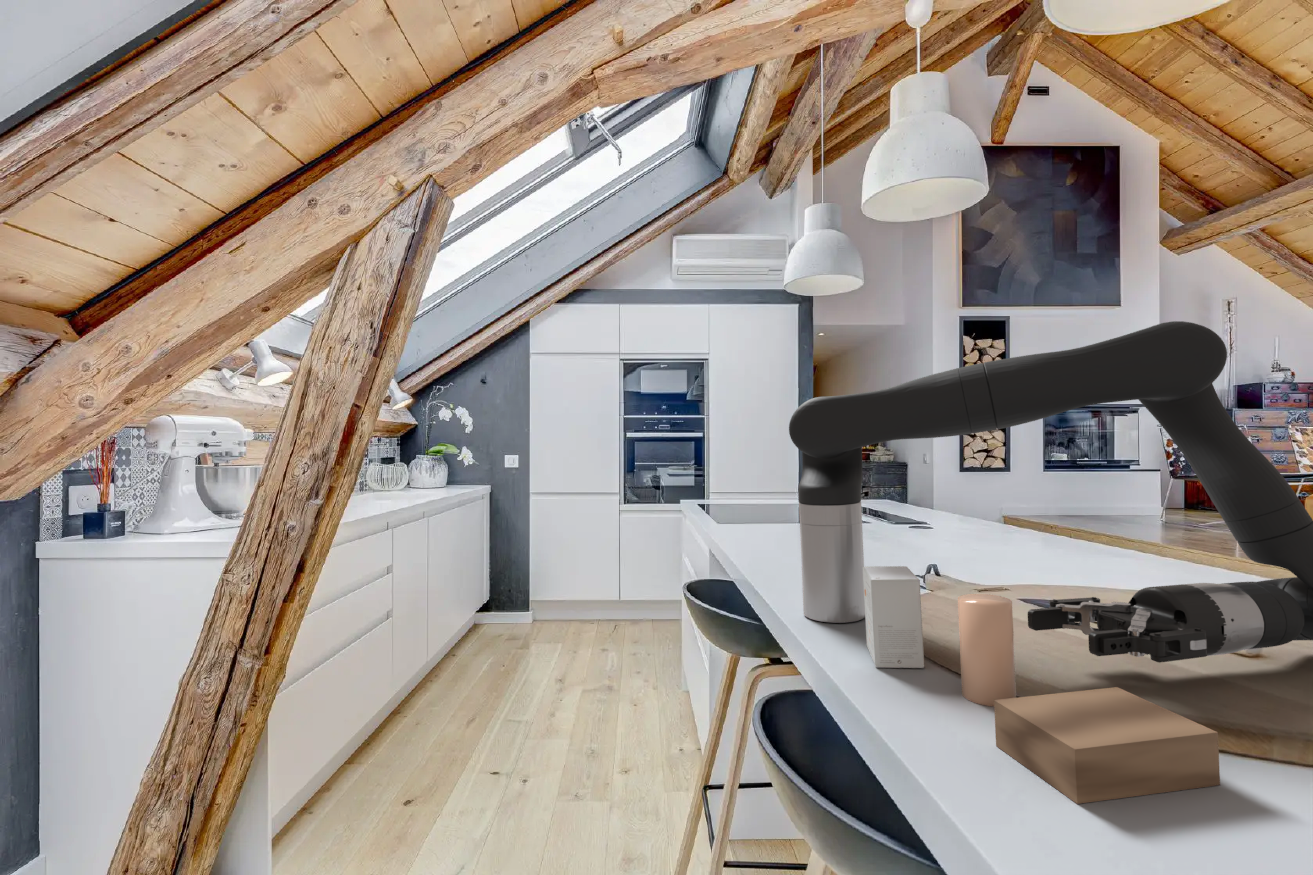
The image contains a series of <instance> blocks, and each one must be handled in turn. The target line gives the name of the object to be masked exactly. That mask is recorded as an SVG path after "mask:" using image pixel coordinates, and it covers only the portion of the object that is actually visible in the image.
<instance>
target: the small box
mask: <svg viewBox="0 0 1313 875" xmlns="http://www.w3.org/2000/svg"><path fill="white" fill-rule="evenodd" d="M920 581H921V580H920V578H918V577H917V576H916V575H915V573H913V571H912V570H911V568H909V567H908V566H904V565H903V566H901V565H900V566H899V565H898V566H897V565H896V566H895V565H893V566H887V565H886V566H885V565H884V566H881V565H880V566H878V565H877V566H876V565H875V566H874V565H873V566H864V567H863V582H864V600H865V618H864V619H865V635H866V636H865V638H866V648H867V649H868V651H869V654H870V657H871V659H872V661H873V664H874V666H875V668H876V669H877V668H878V669H879V668H884V669H885V668H890V669H891V668H893V669H894V668H895V669H896V668H897V669H925V656H924V654H925V653H924V633H923V632H924V631H923V618H922V600H921V582H920Z"/></svg>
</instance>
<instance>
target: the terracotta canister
mask: <svg viewBox="0 0 1313 875" xmlns="http://www.w3.org/2000/svg"><path fill="white" fill-rule="evenodd" d="M957 613H958V632H959V653H960V654H959V658H960V679H961V681H960V682H961V695H962V697H963V698H964V699H966V700H968V701H970V702H972V703H974V704H978V705H981V706H982V705H983V706H986V707H994V700H999V699H1009V698H1017V683H1016V682H1017V680H1016V663H1015V661H1016V660H1015V657H1016V656H1015V640H1014V638H1015V637H1014V636H1015V635H1014V632H1015V631H1014V616H1013V615H1014V614H1013V613H1014V612H1013V600H1012V599H1010V598H1008V597H1005V596H1001V595H996V594H991V593H989V594H988V593H968V594H967V593H966V594H962V595H959V596H958V597H957Z"/></svg>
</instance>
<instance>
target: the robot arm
mask: <svg viewBox="0 0 1313 875" xmlns="http://www.w3.org/2000/svg"><path fill="white" fill-rule="evenodd" d="M1227 358H1228V351H1227V347H1226V344H1225V342H1224V341H1223V339H1222V337H1221V336H1220V335H1218V333H1216V332H1215V331H1213V330H1212V329H1210V328H1209V327H1206V326H1204V325H1202V324H1198V323H1195V322H1190V321H1176V320H1175V321H1167V322H1166V321H1165V322H1161V323H1158V324H1155V325H1152V326H1149V327H1146V328H1143V329H1140V330H1136V331H1133V332H1130V333H1127V334H1125V335H1121V336H1117V337H1114V338H1110V339H1107V340H1103V341H1100V342H1095V343H1092V344H1088V345H1084V346H1081V347H1076V348H1071V349H1065V350H1064V349H1063V350H1059V351H1051V352H1043V353H1042V352H1041V353H1035V354H1027V355H1026V354H1025V355H1021V356H1020V355H1019V356H1014V357H1009V358H1007V357H1006V358H1003V359H1002V358H1001V359H996V360H991V361H985V362H980V363H976V364H975V363H974V364H972V365H966V366H961V367H958V368H957V367H956V368H952V369H949V370H945V371H941V372H938V373H932V374H931V375H926V376H922V377H919V378H917V379H912V380H909V381H906V382H904V383H900V384H897V385H894V386H890V387H887V388H883V389H879V390H874V391H873V390H872V391H866V392H857V393H851V394H841V395H832V396H831V395H830V396H818V397H817V396H816V397H814V398H813V397H812V398H810V399H808V400H806V401H804V402H803V403H801V405H799V406H798V407H797V408H796V409H795V411H794V412H793V414H792V415H791V417H790V420H789V424H788V433H789V437H790V440H791V441H792V443H793V445H795V446H794V447H796V448H797V449H798V450H799V451H801V453H802V454H801V459H802V461H801V462H802V463H801V464H802V465H801V466H802V467H801V468H802V470H801V471H802V472H801V477H800V482H799V484H798V487H797V488H798V489H797V493H798V512H799V514H798V515H799V516H798V517H799V533H800V534H799V536H800V537H799V538H800V558H801V559H800V560H801V580H802V606H803V615H804V616H805V617H806V618H808V619H810V620H814V621H818V622H822V623H823V622H824V623H834V624H835V623H840V624H841V623H843V624H844V623H854V622H858V621H860V620H861V621H862V620H863V619H865V600H864V582H863V567H865V556H864V535H863V534H864V532H863V518H862V517H863V516H862V515H863V513H862V484H863V448H864V447H867V446H872V445H876V444H879V443H884V442H891V441H896V440H917V439H935V438H936V439H937V438H947V437H956V436H957V437H958V436H965V435H972V434H980V433H984V432H990V431H996V430H1001V429H1006V428H1007V429H1008V428H1011V427H1015V426H1019V425H1023V424H1028V423H1031V422H1035V421H1038V420H1042V419H1045V418H1049V417H1052V416H1056V415H1059V414H1062V413H1066V412H1068V411H1071V410H1075V409H1080V408H1083V407H1088V406H1094V405H1100V404H1108V403H1116V402H1127V401H1137V400H1138V401H1139V402H1140V403H1141V404H1142V405H1143V406H1144V408H1145V409H1146V410H1147V411H1148V412H1149V413H1150V415H1152V416H1153V417H1154V418H1155V420H1156V421H1157V422H1158V423H1159V425H1161V427H1162V428H1163V430H1164V431H1165V432H1166V433H1167V435H1168V436H1169V437H1170V438H1171V440H1172V441H1173V442H1174V445H1175V446H1177V448H1178V449H1179V451H1180V452H1181V454H1182V455H1183V457H1184V458H1185V459H1186V461H1187V463H1188V464H1189V466H1190V467H1191V468H1192V470H1193V472H1194V473H1195V474H1194V475H1196V477H1197V479H1198V480H1199V482H1200V484H1201V485H1202V487H1203V488H1204V490H1205V492H1206V493H1207V496H1209V497H1208V498H1210V501H1211V502H1212V504H1213V505H1214V506H1215V508H1216V510H1217V512H1218V513H1219V515H1220V516H1221V518H1222V520H1223V522H1224V523H1225V525H1226V526H1227V528H1228V530H1229V531H1230V533H1231V534H1232V536H1233V538H1234V539H1235V541H1236V542H1237V543H1238V544H1237V545H1239V547H1240V549H1241V551H1242V552H1243V553H1244V555H1246V556H1247V558H1248V559H1249V560H1251V561H1252V562H1254V563H1257V564H1260V565H1261V564H1262V565H1266V566H1274V567H1278V568H1283V569H1284V570H1288V571H1289V572H1291V573H1292V574H1293V575H1294V576H1293V577H1282V578H1274V579H1273V578H1272V579H1265V580H1258V581H1238V582H1237V581H1236V582H1224V583H1214V582H1213V583H1212V582H1211V583H1210V582H1197V583H1196V582H1193V583H1183V584H1171V585H1169V584H1168V585H1158V586H1147V587H1144V588H1141V589H1139V590H1138V591H1137V592H1136V593H1134V594H1133V596H1132V597H1131V598H1130V600H1129V601H1128V602H1123V601H1122V602H1121V601H1111V602H1110V603H1107V602H1101V599H1100V598H1098V597H1096V596H1092V597H1078V598H1076V597H1075V598H1063V599H1061V598H1060V599H1054V598H1053V599H1049V607H1045V608H1044V607H1043V608H1031V609H1029V610H1028V611H1027V626H1028V628H1029V629H1031V630H1032V631H1048V630H1058V629H1061V630H1062V629H1063V630H1065V629H1067V630H1068V629H1069V630H1079V631H1081V632H1082V633H1083V634H1084V635H1086V636H1088V650H1089V651H1088V652H1089V653H1090V654H1092V655H1094V656H1096V657H1104V656H1117V655H1127V654H1129V655H1130V656H1133V657H1136V658H1137V657H1144V656H1145V655H1147V656H1149V655H1150V660H1151V661H1153V662H1155V663H1168V662H1175V661H1176V662H1177V661H1184V660H1190V659H1191V660H1192V659H1198V658H1206V657H1209V656H1211V657H1212V656H1219V655H1228V654H1229V655H1230V654H1234V653H1237V652H1240V651H1243V650H1244V651H1245V650H1253V649H1264V648H1273V647H1278V646H1282V645H1286V644H1288V643H1291V642H1292V641H1313V518H1312V517H1311V515H1310V514H1309V512H1308V511H1307V509H1306V508H1305V506H1304V504H1303V503H1302V502H1301V499H1300V498H1299V497H1298V495H1297V494H1296V492H1295V490H1294V489H1293V488H1292V487H1291V485H1290V484H1289V482H1288V481H1287V480H1286V479H1285V477H1284V476H1283V474H1282V473H1281V472H1280V471H1279V470H1278V469H1277V468H1276V467H1275V466H1274V465H1273V463H1272V462H1271V461H1270V460H1269V459H1268V458H1267V457H1266V456H1265V454H1263V453H1262V452H1261V451H1260V450H1259V448H1257V447H1256V446H1255V444H1253V442H1251V440H1249V439H1248V437H1247V436H1246V435H1245V434H1244V433H1243V431H1242V430H1241V429H1240V428H1239V427H1238V425H1237V424H1236V423H1235V421H1234V420H1233V419H1232V417H1231V416H1230V415H1229V413H1228V411H1227V410H1226V408H1225V406H1224V405H1223V403H1222V402H1221V400H1220V397H1219V395H1218V394H1217V392H1216V391H1217V390H1216V389H1215V387H1214V384H1213V383H1214V382H1215V381H1216V380H1217V379H1218V378H1219V376H1220V375H1221V373H1223V370H1224V368H1225V366H1226V364H1227ZM1095 622H1096V627H1091V623H1095Z"/></svg>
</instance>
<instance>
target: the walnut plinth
mask: <svg viewBox="0 0 1313 875" xmlns="http://www.w3.org/2000/svg"><path fill="white" fill-rule="evenodd" d="M993 708H994V728H995V730H994V731H995V746H996V748H999V749H1000V750H1001V751H1002V752H1004V753H1005V754H1007V755H1008V756H1010V757H1011V758H1013V760H1015V761H1016V762H1018V764H1021V765H1022V766H1023V767H1024V768H1026V769H1028V770H1029V771H1030V772H1032V773H1033V774H1035V775H1036V776H1037V777H1039V778H1040V779H1042V780H1043V781H1044V782H1046V783H1047V784H1049V785H1050V786H1051V787H1053V788H1054V789H1055V790H1057V791H1058V792H1060V793H1061V794H1063V795H1064V796H1066V797H1067V798H1069V799H1070V800H1071V801H1073V803H1076V805H1079V804H1086V803H1093V802H1103V801H1108V800H1109V801H1110V800H1117V799H1123V798H1124V799H1125V798H1132V797H1140V796H1147V795H1154V794H1162V793H1164V794H1165V793H1170V792H1178V791H1186V790H1193V789H1199V788H1202V789H1203V788H1207V787H1216V786H1221V774H1220V773H1221V772H1220V755H1219V754H1220V752H1219V751H1220V750H1219V731H1215V730H1213V729H1211V728H1209V727H1207V726H1205V725H1203V724H1201V723H1197V722H1196V721H1193V720H1192V719H1189V718H1187V717H1185V716H1182V715H1180V714H1179V713H1176V712H1174V711H1171V710H1170V709H1168V708H1167V709H1166V707H1165V708H1164V707H1163V706H1160V705H1158V704H1156V703H1154V702H1152V701H1149V700H1147V699H1144V698H1142V697H1140V696H1138V695H1136V694H1133V693H1131V692H1129V691H1127V690H1125V689H1122V688H1120V687H1118V686H1115V687H1113V686H1112V687H1106V688H1095V689H1087V690H1085V689H1084V690H1076V691H1075V690H1074V691H1069V692H1068V691H1067V692H1066V691H1065V692H1057V693H1048V694H1041V695H1039V694H1038V695H1028V696H1020V697H1016V698H1009V699H999V700H994V706H993Z"/></svg>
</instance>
